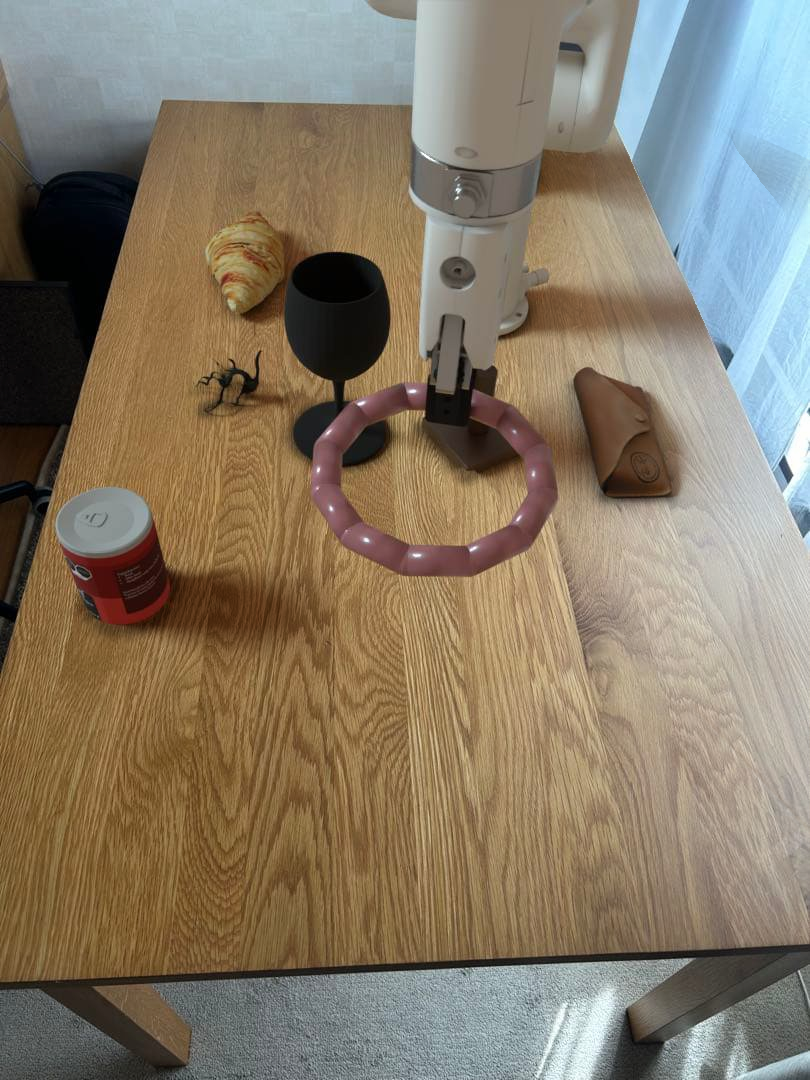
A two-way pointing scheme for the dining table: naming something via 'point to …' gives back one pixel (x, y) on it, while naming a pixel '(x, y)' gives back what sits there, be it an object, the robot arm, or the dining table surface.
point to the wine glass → (337, 338)
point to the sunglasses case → (621, 437)
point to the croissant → (246, 261)
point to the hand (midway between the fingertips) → (449, 406)
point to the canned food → (114, 554)
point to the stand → (473, 435)
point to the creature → (248, 382)
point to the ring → (432, 557)
